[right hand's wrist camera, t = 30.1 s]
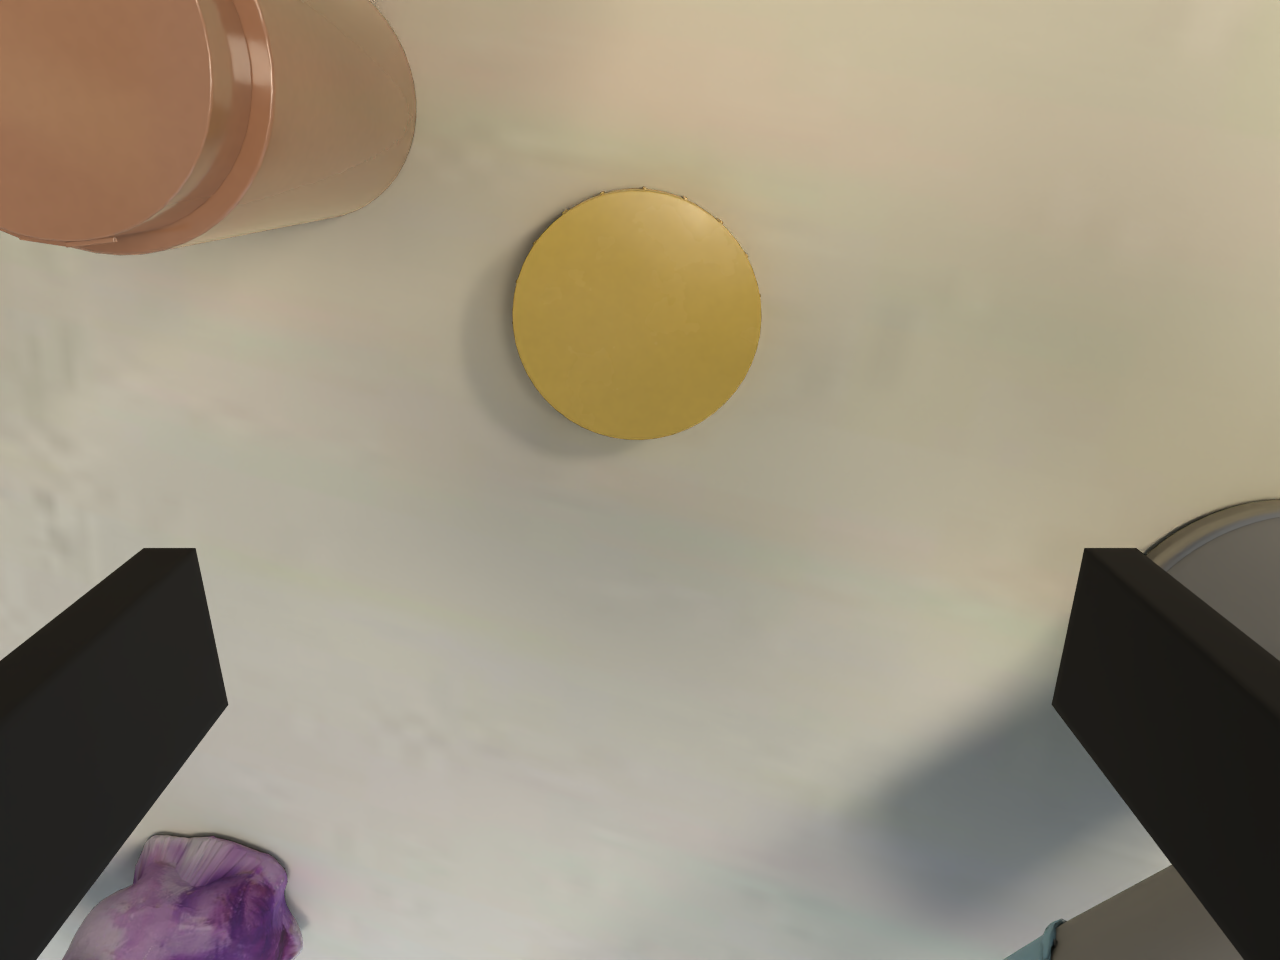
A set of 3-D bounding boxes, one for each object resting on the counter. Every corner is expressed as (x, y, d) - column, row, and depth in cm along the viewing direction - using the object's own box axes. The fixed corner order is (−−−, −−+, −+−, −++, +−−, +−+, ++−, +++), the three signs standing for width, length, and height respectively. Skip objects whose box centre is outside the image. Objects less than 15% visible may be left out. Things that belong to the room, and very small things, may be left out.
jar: (149, -22, 33) (-284, -181, 18) (389, -52, 33) (163, -240, 17) (218, 230, 37) (-94, 284, 21) (436, 206, 36) (283, 243, 21)
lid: (721, 447, 40) (726, 463, 38) (500, 399, 39) (492, 413, 37) (783, 219, 36) (793, 223, 34) (541, 161, 36) (534, 162, 33)
